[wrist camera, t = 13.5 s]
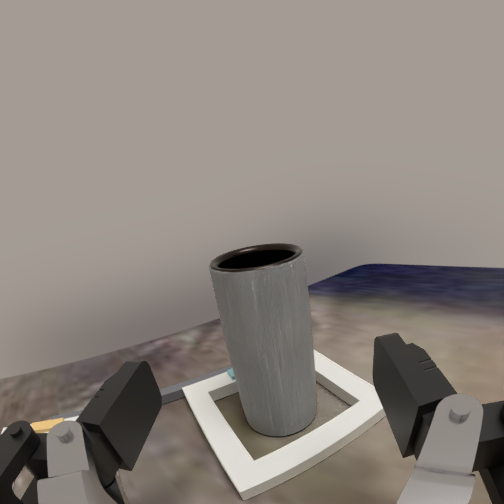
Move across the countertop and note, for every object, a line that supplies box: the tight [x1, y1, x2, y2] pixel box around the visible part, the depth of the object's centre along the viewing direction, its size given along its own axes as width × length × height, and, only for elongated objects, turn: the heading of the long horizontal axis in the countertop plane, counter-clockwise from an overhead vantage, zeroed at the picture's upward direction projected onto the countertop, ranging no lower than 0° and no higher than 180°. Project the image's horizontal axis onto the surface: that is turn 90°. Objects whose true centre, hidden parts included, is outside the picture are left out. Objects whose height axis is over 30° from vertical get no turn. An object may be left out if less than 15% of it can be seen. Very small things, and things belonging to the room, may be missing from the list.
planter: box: [209, 243, 317, 436], centre depth 15 cm, size 4×4×10 cm
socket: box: [182, 350, 386, 500], centre depth 16 cm, size 10×10×1 cm
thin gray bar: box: [51, 365, 232, 420], centre depth 18 cm, size 16×1×1 cm, turn 116°
